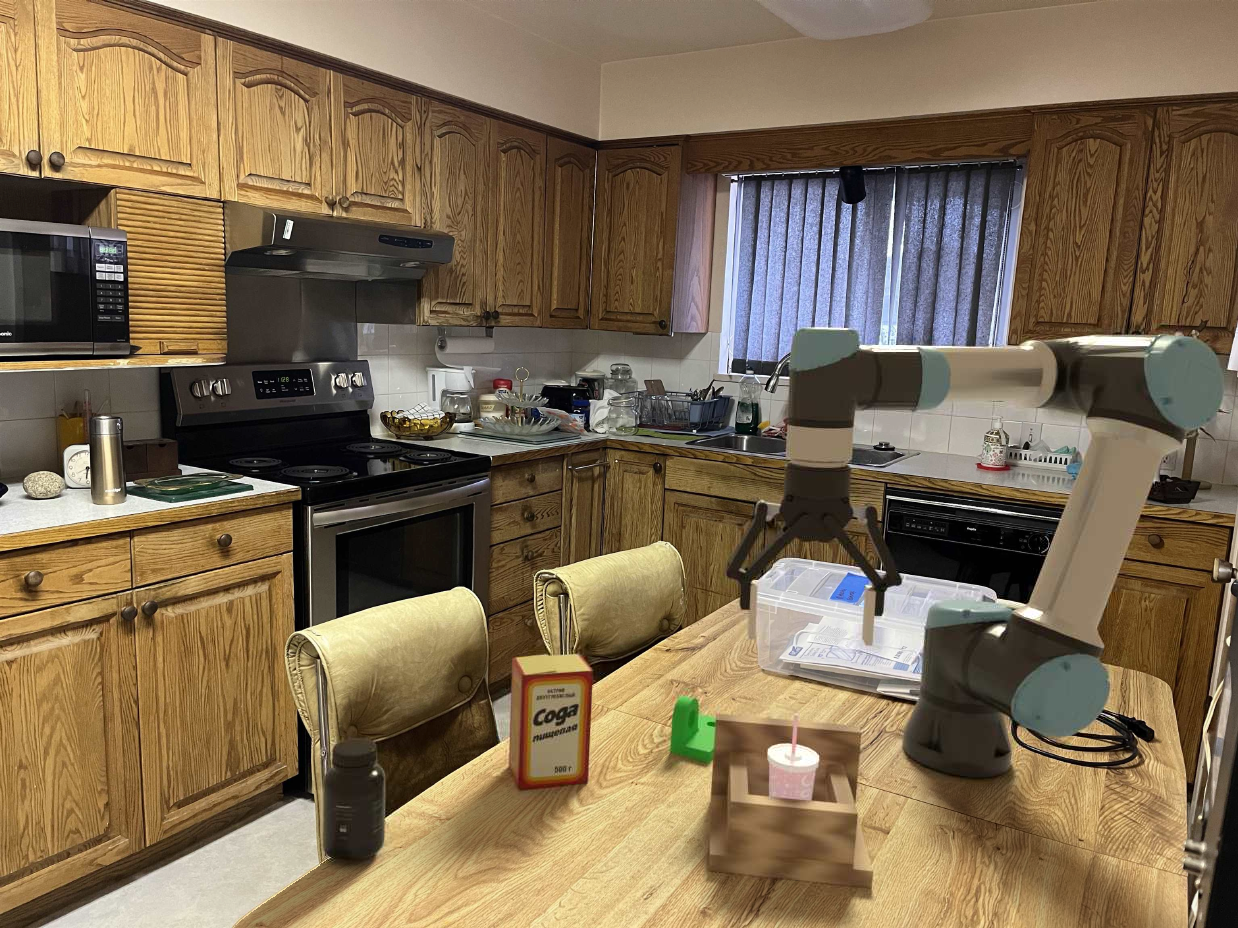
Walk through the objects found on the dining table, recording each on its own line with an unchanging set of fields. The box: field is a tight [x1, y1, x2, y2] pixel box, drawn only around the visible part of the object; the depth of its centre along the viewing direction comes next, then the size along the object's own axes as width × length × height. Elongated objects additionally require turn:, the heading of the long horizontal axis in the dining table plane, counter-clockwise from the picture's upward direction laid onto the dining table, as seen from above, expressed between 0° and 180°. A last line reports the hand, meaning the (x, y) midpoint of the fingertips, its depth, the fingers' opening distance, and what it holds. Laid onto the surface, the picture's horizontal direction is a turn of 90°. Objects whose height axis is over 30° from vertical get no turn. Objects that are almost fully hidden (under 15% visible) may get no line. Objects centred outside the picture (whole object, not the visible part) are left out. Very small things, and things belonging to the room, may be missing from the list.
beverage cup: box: [767, 713, 819, 801], centre depth 109 cm, size 6×6×14 cm
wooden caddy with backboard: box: [708, 712, 874, 889], centre depth 110 cm, size 18×16×12 cm
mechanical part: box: [670, 695, 716, 763], centre depth 136 cm, size 12×6×8 cm, turn 154°
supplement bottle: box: [321, 737, 386, 863], centre depth 104 cm, size 7×7×12 cm
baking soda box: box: [508, 653, 594, 791], centre depth 124 cm, size 10×6×16 cm
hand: (808, 639), depth 109 cm, fingers open, 13 cm apart
